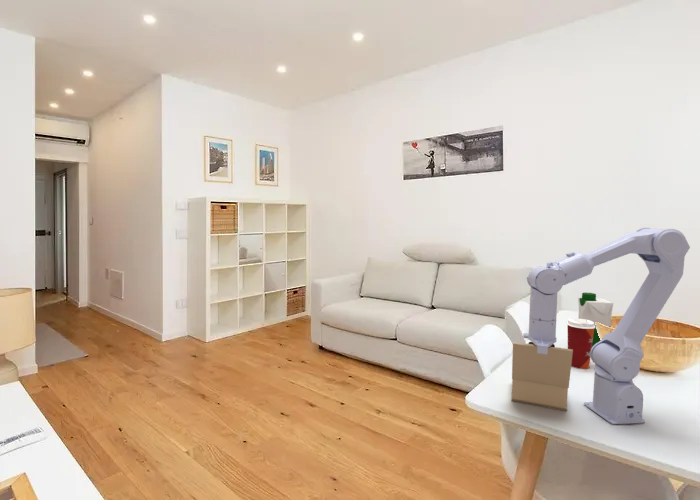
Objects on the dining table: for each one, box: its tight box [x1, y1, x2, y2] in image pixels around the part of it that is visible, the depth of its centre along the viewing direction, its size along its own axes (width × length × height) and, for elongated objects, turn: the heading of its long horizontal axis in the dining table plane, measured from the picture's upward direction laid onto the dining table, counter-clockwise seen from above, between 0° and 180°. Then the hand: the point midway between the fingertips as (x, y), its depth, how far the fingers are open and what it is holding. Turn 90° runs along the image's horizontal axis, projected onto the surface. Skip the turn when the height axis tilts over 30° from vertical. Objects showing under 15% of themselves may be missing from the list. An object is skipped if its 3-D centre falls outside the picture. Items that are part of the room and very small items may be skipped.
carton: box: [511, 378, 569, 412], centre depth 99 cm, size 11×12×6 cm
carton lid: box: [511, 341, 573, 389], centre depth 91 cm, size 11×12×1 cm
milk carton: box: [577, 292, 614, 347], centre depth 131 cm, size 9×9×20 cm
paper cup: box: [566, 317, 595, 370], centre depth 120 cm, size 8×8×14 cm
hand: (540, 373), depth 93 cm, fingers closed, pressing on carton lid
